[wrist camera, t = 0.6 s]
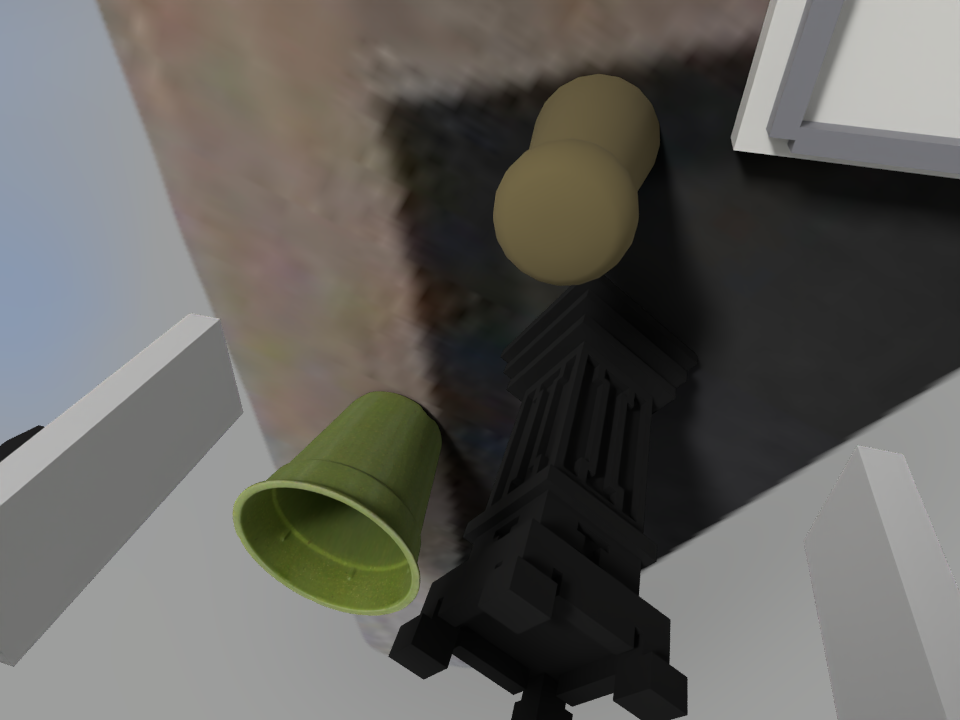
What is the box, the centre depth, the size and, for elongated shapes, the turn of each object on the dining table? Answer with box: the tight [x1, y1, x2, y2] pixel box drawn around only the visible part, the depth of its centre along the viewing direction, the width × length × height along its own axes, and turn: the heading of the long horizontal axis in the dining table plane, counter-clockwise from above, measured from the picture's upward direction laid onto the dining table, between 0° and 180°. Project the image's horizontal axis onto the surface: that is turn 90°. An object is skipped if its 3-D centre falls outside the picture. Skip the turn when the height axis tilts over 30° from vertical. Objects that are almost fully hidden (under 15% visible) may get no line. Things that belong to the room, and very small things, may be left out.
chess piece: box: [389, 275, 698, 720], centre depth 28 cm, size 8×8×20 cm
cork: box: [493, 74, 660, 286], centre depth 25 cm, size 6×6×11 cm
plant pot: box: [233, 392, 442, 616], centre depth 40 cm, size 12×12×11 cm
